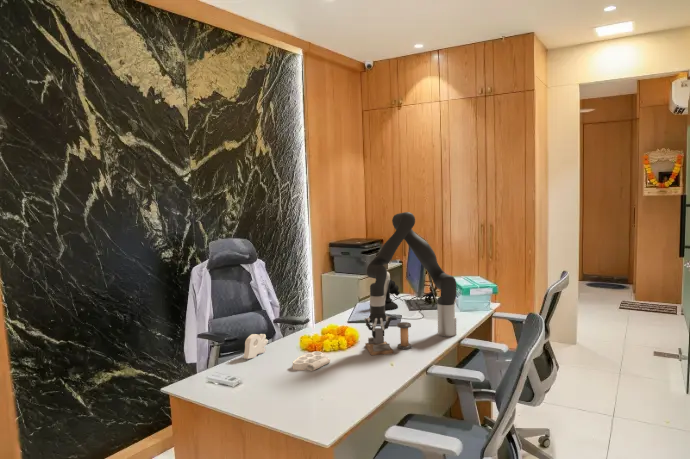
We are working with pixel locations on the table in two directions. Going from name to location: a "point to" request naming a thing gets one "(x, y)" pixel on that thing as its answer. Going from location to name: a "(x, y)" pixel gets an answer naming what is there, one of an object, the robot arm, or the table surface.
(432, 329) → the table surface
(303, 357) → the beige block with wells
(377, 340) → the grey brown rectangular block
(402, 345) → the bobbin
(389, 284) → the sculpture
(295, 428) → the table surface
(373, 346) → the terminal board
